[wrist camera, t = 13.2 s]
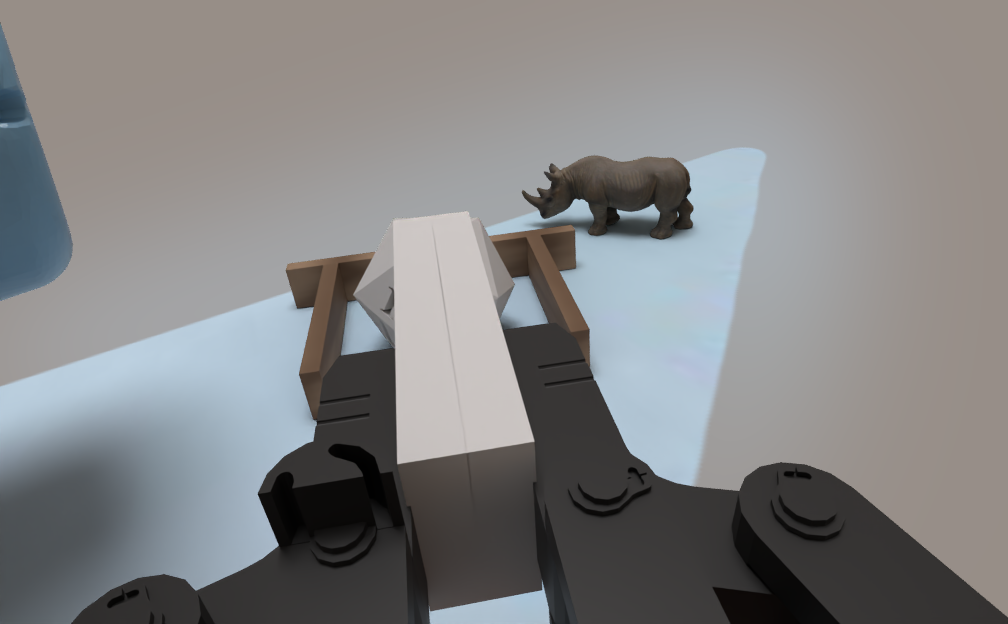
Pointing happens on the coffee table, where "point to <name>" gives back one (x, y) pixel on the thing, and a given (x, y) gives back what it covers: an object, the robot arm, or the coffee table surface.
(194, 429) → the coffee table surface
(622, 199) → the rhino figurine
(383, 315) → the die
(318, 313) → the frame
